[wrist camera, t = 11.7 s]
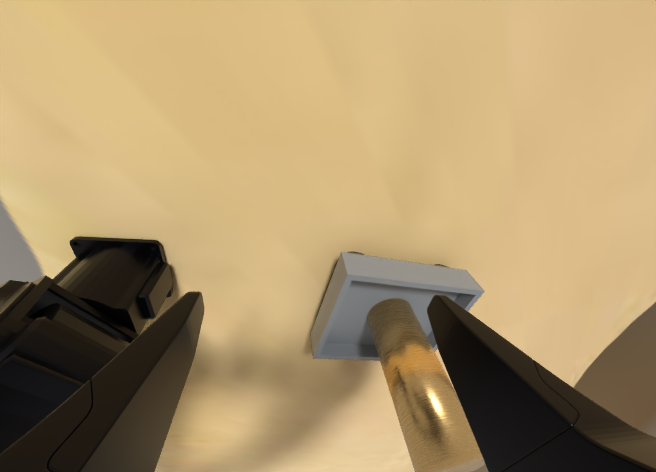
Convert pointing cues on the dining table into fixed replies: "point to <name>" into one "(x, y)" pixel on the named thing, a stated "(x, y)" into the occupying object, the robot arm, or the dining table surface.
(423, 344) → the gold cylinder
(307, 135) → the dining table surface
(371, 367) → the dining table surface
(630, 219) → the dining table surface
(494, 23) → the dining table surface
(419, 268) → the gray rectangular tray
